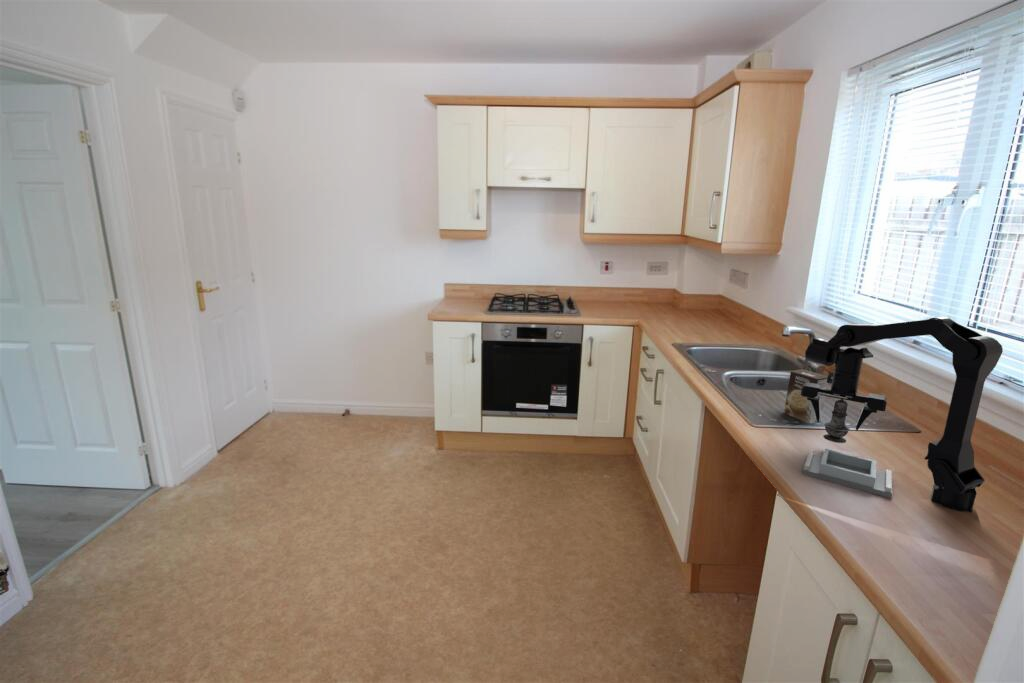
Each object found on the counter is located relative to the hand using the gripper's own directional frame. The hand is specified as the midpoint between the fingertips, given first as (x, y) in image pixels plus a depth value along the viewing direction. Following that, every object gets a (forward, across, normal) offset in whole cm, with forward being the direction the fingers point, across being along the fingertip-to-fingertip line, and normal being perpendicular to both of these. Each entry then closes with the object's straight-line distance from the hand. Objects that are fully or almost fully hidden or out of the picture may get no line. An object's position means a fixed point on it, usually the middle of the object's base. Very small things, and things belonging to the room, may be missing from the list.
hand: (837, 425), depth 132 cm
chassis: (+8, -4, +13) cm, 16 cm away
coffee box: (+8, +10, -21) cm, 25 cm away
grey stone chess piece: (+4, 0, 0) cm, 4 cm away
